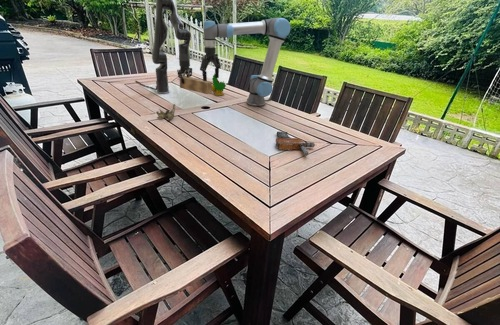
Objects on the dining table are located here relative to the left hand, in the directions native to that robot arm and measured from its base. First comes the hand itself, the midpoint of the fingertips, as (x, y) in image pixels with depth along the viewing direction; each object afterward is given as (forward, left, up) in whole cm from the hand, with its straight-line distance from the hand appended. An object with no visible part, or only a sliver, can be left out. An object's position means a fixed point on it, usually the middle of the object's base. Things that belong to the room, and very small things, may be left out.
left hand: (185, 82), depth 199 cm
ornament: (+3, +40, -16) cm, 43 cm away
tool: (+102, -19, -16) cm, 105 cm away
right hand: (+24, 0, +6) cm, 25 cm away
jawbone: (+14, -33, -16) cm, 39 cm away
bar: (+10, 0, -4) cm, 10 cm away
